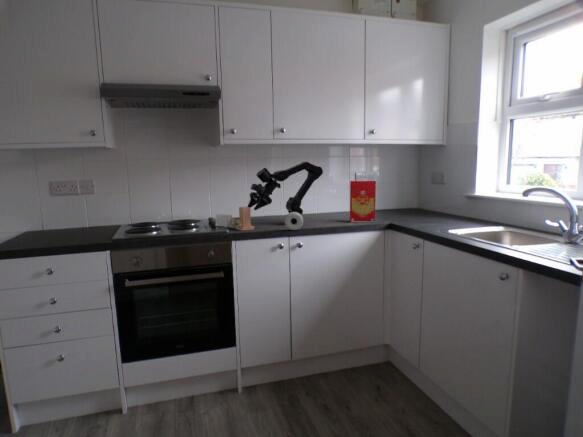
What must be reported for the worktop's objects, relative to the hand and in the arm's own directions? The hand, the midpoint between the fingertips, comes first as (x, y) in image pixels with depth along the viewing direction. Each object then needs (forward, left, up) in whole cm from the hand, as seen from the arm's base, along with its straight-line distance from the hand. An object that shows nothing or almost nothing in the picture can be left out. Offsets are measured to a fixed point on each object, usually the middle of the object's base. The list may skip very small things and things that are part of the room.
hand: (250, 209), depth 206 cm
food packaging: (-69, +2, -11) cm, 70 cm away
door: (+9, -1, -11) cm, 14 cm away
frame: (+13, -10, -11) cm, 20 cm away
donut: (-20, +15, -11) cm, 27 cm away
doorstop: (+4, 0, -11) cm, 11 cm away
